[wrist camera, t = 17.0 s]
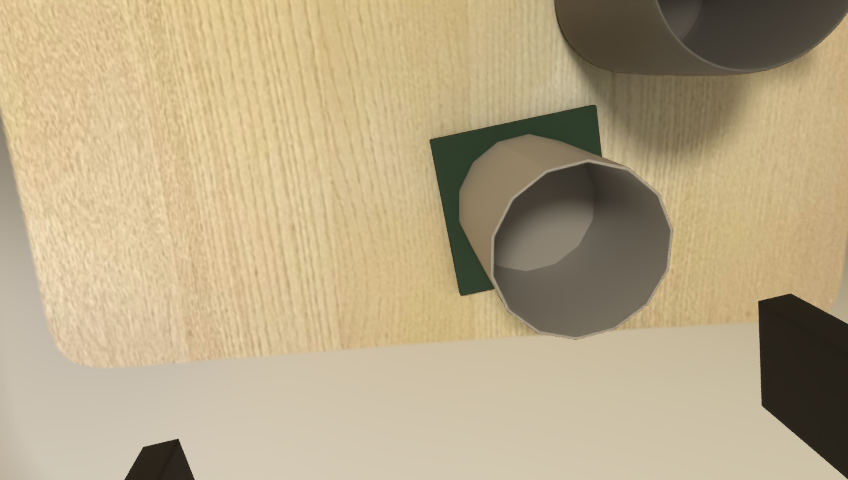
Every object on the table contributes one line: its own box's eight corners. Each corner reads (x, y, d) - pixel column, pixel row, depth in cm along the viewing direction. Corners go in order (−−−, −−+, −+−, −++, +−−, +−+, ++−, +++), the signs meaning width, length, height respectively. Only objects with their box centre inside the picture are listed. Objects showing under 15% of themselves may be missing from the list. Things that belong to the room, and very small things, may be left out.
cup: (587, 266, 37) (661, 335, 28) (458, 271, 36) (489, 344, 27) (596, 132, 35) (681, 157, 25) (459, 135, 34) (493, 161, 25)
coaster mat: (459, 292, 38) (460, 296, 37) (429, 139, 35) (430, 140, 34) (610, 259, 38) (613, 262, 37) (592, 104, 35) (596, 105, 34)
